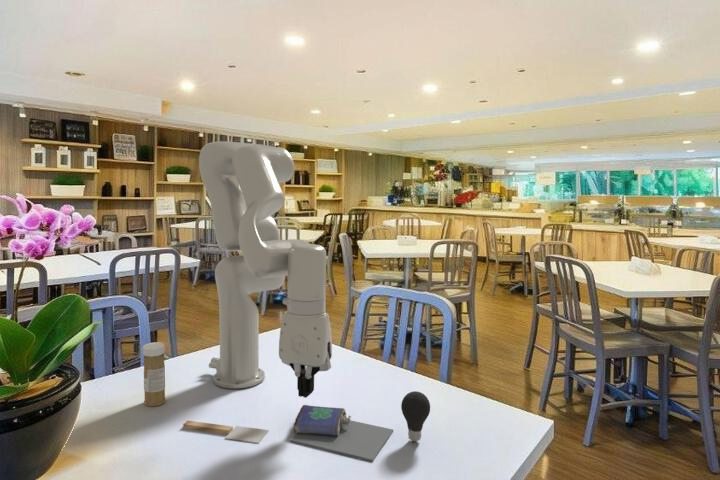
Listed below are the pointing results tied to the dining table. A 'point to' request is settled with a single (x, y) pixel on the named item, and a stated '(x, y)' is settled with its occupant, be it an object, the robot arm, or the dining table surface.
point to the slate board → (349, 440)
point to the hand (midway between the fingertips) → (305, 394)
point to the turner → (229, 431)
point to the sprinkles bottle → (154, 373)
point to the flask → (320, 420)
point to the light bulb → (415, 413)
